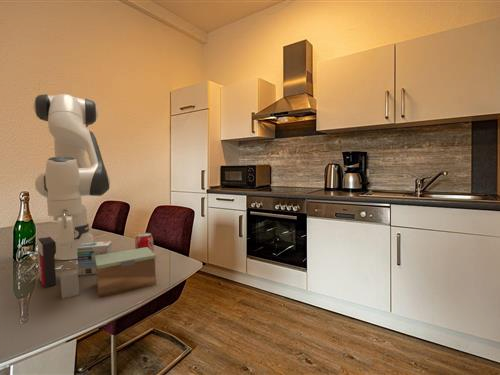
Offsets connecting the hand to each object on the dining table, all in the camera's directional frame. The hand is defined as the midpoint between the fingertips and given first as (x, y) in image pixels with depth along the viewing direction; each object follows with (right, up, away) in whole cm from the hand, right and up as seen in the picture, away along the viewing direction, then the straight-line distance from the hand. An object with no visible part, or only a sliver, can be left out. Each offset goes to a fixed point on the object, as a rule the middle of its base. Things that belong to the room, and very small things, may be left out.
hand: (68, 252), depth 85 cm
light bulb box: (-3, -13, +21) cm, 24 cm away
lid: (+15, -4, +7) cm, 17 cm away
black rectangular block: (-15, -13, +11) cm, 23 cm away
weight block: (0, -14, +1) cm, 14 cm away
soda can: (+13, -12, +29) cm, 34 cm away
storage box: (+14, -13, +8) cm, 21 cm away
